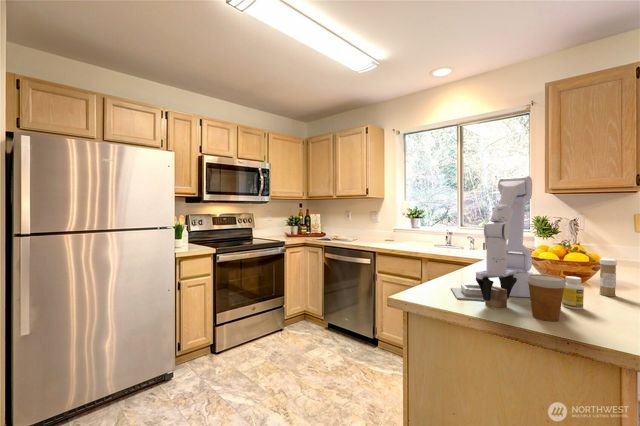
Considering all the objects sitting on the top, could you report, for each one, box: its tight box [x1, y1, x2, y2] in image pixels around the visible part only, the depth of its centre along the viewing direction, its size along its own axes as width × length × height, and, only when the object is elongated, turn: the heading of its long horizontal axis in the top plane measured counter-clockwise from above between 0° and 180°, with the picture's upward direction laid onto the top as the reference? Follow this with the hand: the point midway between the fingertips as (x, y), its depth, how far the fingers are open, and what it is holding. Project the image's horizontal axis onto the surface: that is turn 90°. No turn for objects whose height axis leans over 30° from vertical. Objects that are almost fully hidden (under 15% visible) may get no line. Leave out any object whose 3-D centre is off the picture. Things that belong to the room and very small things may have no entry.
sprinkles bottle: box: [598, 257, 618, 297], centre depth 114 cm, size 5×5×14 cm
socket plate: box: [450, 287, 485, 302], centre depth 114 cm, size 14×14×1 cm
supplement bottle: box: [561, 275, 585, 310], centre depth 100 cm, size 5×5×10 cm
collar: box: [460, 283, 483, 297], centre depth 114 cm, size 8×8×2 cm
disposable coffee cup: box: [527, 273, 566, 322], centre depth 91 cm, size 10×10×12 cm
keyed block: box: [484, 285, 508, 310], centre depth 102 cm, size 4×4×6 cm
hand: (495, 299), depth 101 cm, fingers open, 7 cm apart
